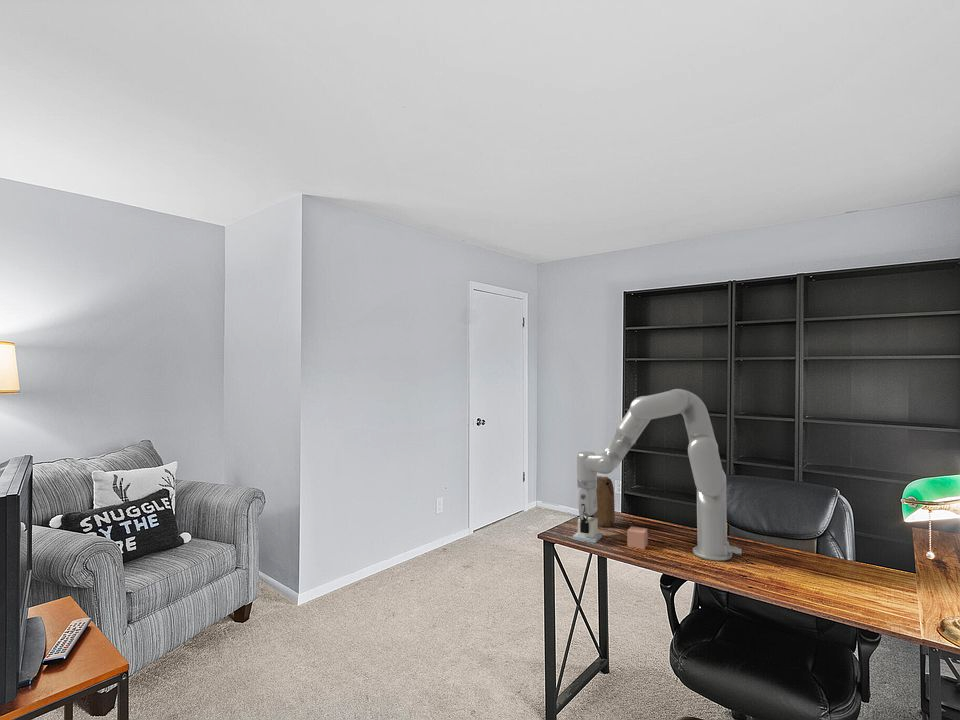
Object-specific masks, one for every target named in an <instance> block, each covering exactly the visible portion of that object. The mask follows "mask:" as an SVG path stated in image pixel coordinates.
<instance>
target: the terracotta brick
mask: <svg viewBox="0 0 960 720" xmlns="http://www.w3.org/2000/svg"><path fill="white" fill-rule="evenodd" d="M626 532H627V533H626V535H627V537H626V538H627V541H626V542H627V543H626V544H627V546H629V547H628V548H631V547H636V548H635V549H637V548H641V549H640V550H643V549H644V550H646V547H648V544H649V543H648V541H649V540H648V538H649V537H648V536H649V535H648V528H645V527H639V526H630V527H629V528H628V529H627V531H626Z"/></svg>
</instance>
